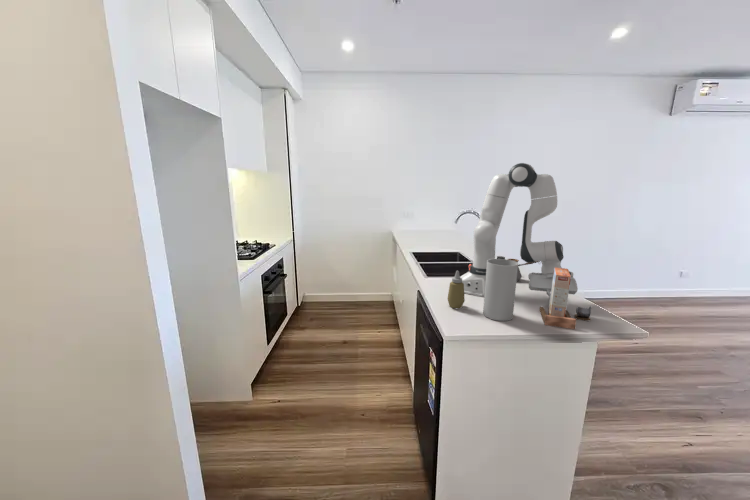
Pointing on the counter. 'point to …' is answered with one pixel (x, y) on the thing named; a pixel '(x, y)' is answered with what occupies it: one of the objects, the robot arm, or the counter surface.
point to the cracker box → (559, 292)
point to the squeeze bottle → (456, 292)
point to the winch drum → (583, 313)
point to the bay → (558, 320)
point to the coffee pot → (518, 268)
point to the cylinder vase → (500, 289)
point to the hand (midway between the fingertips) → (553, 299)
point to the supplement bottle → (500, 257)
